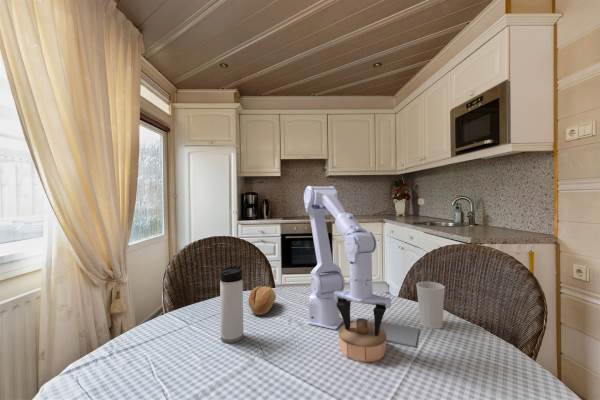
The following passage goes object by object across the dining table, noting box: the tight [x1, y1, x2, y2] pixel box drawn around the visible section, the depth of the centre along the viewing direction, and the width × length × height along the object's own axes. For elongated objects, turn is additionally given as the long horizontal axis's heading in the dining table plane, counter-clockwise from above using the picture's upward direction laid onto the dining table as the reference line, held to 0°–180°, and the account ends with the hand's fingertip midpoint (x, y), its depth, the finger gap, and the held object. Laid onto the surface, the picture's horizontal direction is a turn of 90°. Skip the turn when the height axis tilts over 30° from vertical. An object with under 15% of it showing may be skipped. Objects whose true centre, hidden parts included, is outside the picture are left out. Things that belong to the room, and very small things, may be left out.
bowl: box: [338, 335, 387, 363], centre depth 70 cm, size 11×11×4 cm
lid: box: [338, 317, 387, 347], centre depth 70 cm, size 12×12×4 cm
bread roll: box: [247, 285, 276, 316], centre depth 99 cm, size 10×15×8 cm, turn 179°
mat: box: [380, 321, 420, 348], centre depth 78 cm, size 11×11×1 cm
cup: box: [415, 281, 446, 330], centre depth 84 cm, size 8×8×12 cm
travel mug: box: [219, 264, 244, 344], centre depth 78 cm, size 6×7×20 cm
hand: (362, 331), depth 70 cm, fingers open, 7 cm apart
